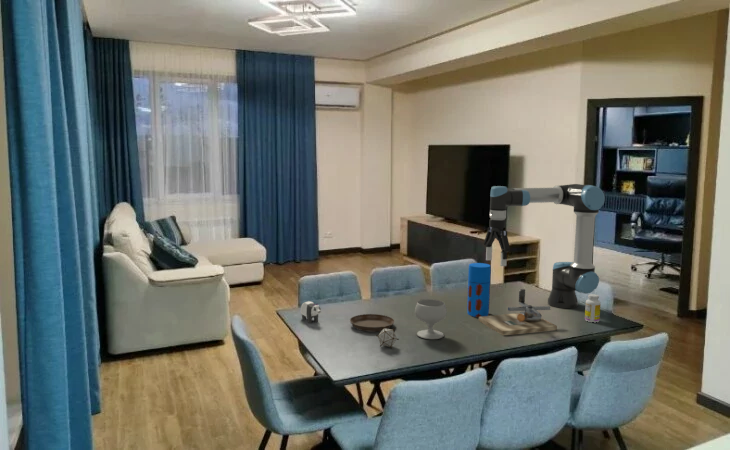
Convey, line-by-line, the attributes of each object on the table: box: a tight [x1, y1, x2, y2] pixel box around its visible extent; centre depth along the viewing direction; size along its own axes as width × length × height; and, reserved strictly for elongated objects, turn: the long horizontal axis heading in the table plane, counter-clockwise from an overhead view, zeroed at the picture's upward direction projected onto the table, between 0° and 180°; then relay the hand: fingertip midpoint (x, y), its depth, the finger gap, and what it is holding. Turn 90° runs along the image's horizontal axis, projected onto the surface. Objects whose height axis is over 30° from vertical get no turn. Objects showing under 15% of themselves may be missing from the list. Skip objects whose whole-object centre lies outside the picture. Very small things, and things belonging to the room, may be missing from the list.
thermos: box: [466, 262, 492, 318], centre depth 274 cm, size 11×11×25 cm
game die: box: [375, 327, 399, 349], centre depth 229 cm, size 9×8×10 cm
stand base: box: [478, 312, 558, 336], centre depth 258 cm, size 28×22×2 cm
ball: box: [517, 314, 525, 321], centre depth 256 cm, size 4×4×4 cm
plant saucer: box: [349, 313, 395, 333], centre depth 255 cm, size 21×21×3 cm
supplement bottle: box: [584, 293, 602, 324], centre depth 265 cm, size 7×7×13 cm
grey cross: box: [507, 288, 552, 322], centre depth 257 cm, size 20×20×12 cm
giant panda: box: [300, 301, 322, 324], centre depth 261 cm, size 15×6×10 cm, turn 33°
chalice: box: [414, 298, 448, 340], centre depth 242 cm, size 14×14×15 cm
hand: (495, 263), depth 263 cm, fingers open, 13 cm apart
